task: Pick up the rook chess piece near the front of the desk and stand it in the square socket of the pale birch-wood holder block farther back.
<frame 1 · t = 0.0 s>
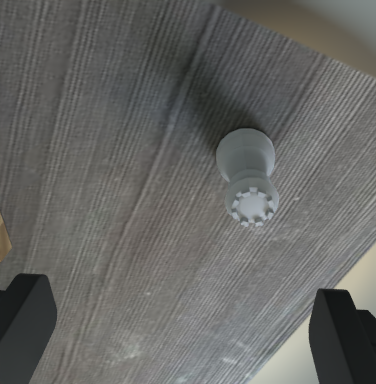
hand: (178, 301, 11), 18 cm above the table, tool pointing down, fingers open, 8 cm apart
rook chess piece: (244, 152, 28), on the table
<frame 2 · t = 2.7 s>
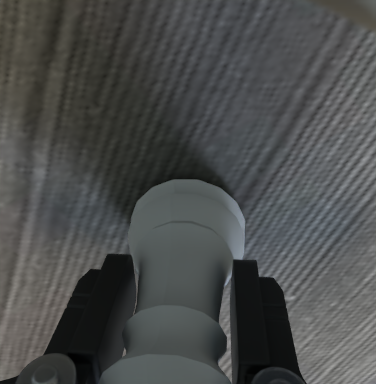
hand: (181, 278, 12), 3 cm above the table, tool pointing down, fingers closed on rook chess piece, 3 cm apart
rook chess piece: (188, 219, 14), on the table, touching gripper
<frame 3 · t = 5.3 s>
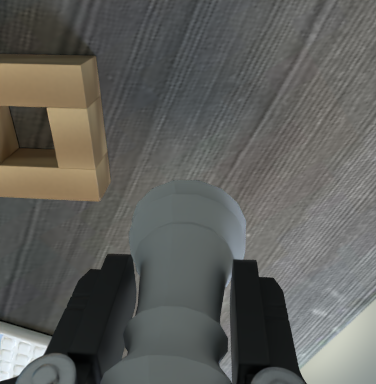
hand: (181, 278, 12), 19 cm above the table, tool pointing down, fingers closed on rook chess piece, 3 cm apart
calculator: (19, 355, 48), on the table
rook chess piece: (189, 219, 14), point 16 cm above the table, touching gripper
holder: (41, 122, 30), on the table
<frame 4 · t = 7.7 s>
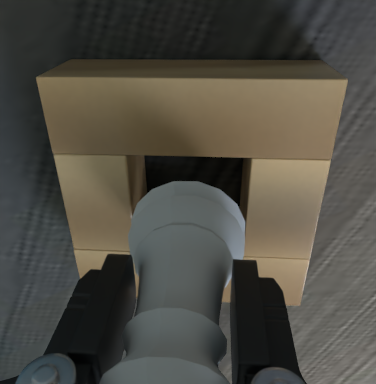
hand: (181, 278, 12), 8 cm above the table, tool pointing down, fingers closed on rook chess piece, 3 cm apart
rook chess piece: (189, 220, 14), point 4 cm above the table, touching gripper
holder: (193, 171, 18), on the table
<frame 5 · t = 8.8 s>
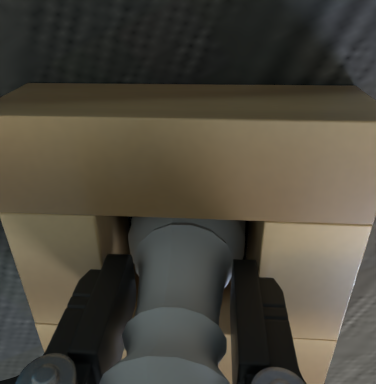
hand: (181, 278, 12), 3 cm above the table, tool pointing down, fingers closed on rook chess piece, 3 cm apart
rook chess piece: (189, 220, 14), resting in holder, touching gripper
holder: (188, 219, 15), on the table
when the fingers open (4 cm above the table, at t = 12.8 s): rook chess piece stays where it is, resting in holder.
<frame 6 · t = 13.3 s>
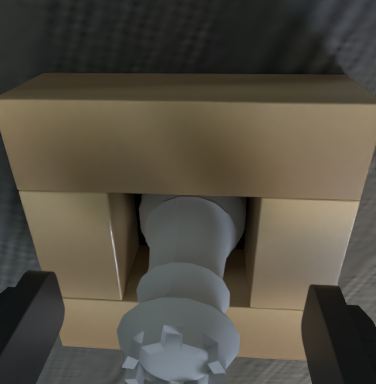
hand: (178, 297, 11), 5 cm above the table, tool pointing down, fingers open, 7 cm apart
rook chess piece: (194, 198, 16), resting in holder
holder: (191, 202, 15), on the table
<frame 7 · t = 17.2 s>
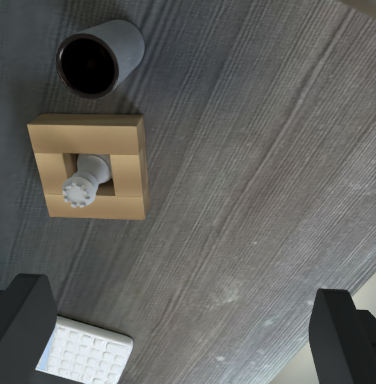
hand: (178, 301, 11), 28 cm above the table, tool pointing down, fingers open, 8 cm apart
calculator: (66, 343, 58), on the table
rook chess piece: (100, 159, 40), resting in holder
planter: (121, 45, 34), on the table
holder: (99, 160, 40), on the table
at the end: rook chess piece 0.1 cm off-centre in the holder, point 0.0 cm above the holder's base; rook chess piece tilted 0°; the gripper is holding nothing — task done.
